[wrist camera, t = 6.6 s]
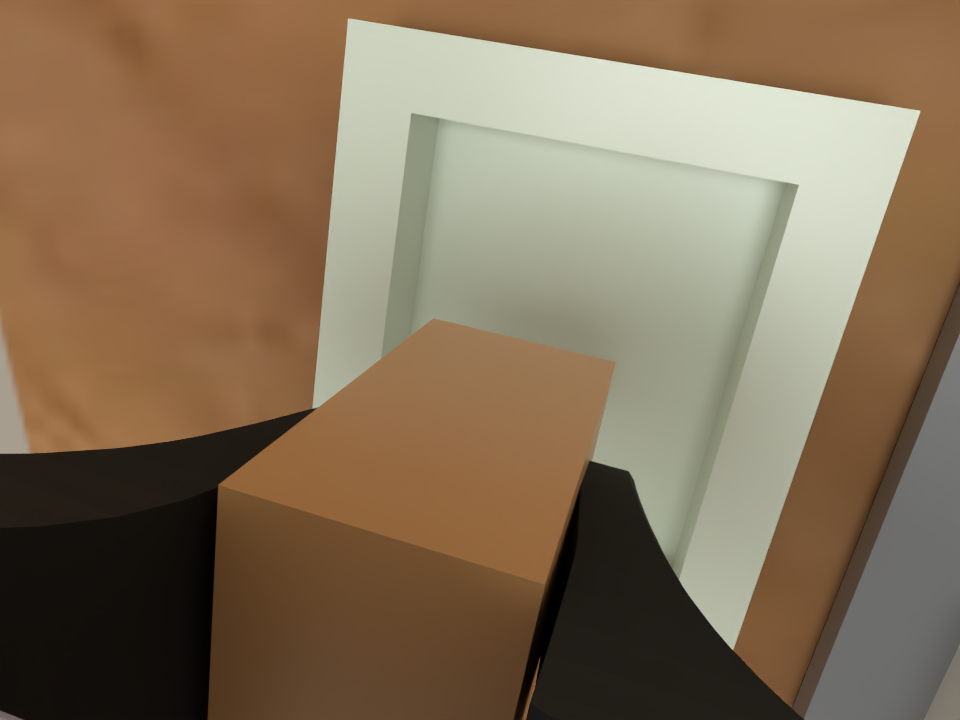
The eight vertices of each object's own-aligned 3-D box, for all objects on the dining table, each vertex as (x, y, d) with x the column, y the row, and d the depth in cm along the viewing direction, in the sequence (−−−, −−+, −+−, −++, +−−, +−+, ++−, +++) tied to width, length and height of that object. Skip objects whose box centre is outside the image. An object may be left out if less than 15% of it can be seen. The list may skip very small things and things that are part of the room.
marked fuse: (564, 575, 13) (468, 914, 7) (402, 527, 14) (204, 808, 8) (616, 361, 12) (543, 583, 6) (433, 318, 12) (218, 485, 7)
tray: (718, 618, 20) (721, 683, 18) (340, 505, 22) (299, 550, 20) (887, 111, 16) (920, 111, 13) (393, 31, 18) (348, 18, 15)
